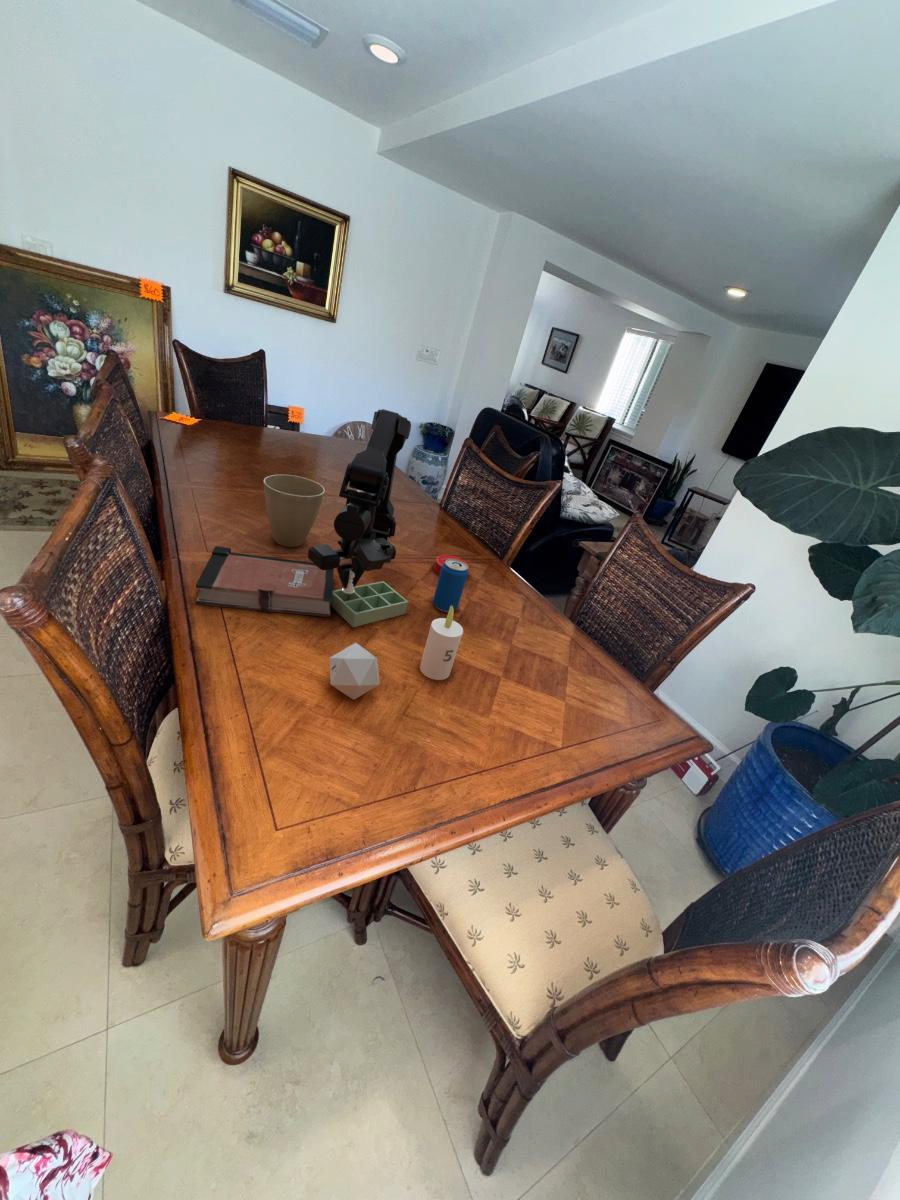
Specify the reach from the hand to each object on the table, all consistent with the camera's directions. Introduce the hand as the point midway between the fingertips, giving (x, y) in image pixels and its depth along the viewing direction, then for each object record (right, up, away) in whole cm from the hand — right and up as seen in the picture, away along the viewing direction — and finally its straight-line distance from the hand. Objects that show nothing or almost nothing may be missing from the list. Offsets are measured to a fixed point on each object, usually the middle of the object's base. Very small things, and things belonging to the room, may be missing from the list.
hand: (348, 587), depth 106 cm
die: (+5, -19, -19) cm, 28 cm away
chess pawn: (0, -1, +1) cm, 1 cm away
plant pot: (-21, +13, +24) cm, 34 cm away
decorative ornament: (+22, +5, +32) cm, 39 cm away
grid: (+4, -5, +4) cm, 7 cm away
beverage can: (+21, -5, +14) cm, 26 cm away
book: (-18, -1, +1) cm, 18 cm away
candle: (+19, -17, -9) cm, 27 cm away
